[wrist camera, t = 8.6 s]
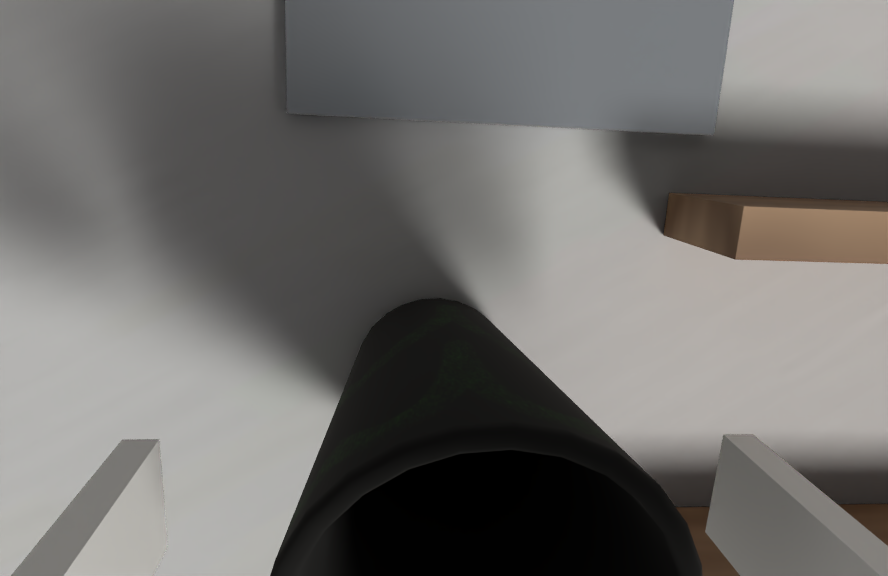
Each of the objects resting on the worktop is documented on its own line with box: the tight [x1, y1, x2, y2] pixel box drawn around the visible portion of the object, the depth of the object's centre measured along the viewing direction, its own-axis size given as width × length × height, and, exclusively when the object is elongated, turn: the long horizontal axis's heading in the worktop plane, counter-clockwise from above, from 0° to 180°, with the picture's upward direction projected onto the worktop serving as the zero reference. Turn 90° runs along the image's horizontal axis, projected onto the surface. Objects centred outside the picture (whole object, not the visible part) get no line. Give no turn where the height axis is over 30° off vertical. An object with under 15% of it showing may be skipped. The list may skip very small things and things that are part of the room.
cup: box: [270, 298, 703, 576], centre depth 16 cm, size 8×8×12 cm
